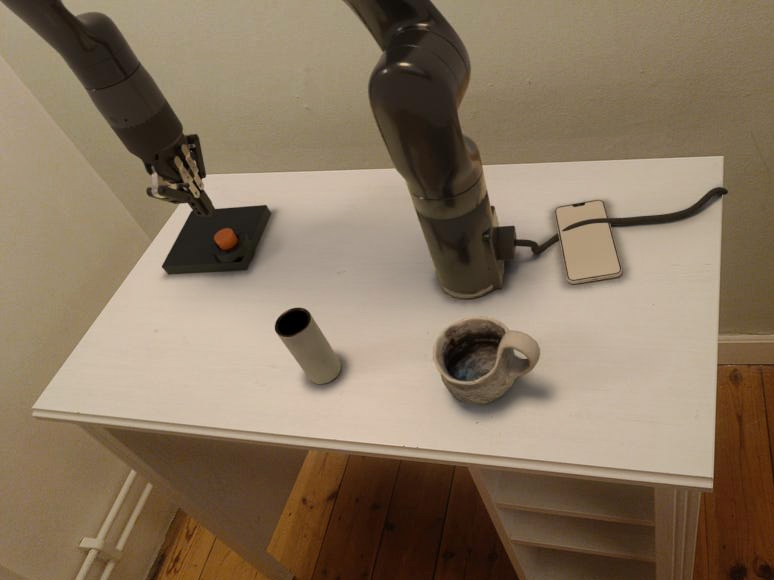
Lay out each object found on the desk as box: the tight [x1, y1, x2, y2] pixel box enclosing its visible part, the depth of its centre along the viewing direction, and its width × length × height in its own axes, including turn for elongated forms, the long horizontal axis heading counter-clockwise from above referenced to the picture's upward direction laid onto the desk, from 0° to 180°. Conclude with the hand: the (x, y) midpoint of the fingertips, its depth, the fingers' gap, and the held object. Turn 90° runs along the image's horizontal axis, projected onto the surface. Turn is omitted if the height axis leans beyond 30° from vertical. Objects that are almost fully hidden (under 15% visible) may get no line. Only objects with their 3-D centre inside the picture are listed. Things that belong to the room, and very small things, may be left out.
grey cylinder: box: [274, 307, 342, 385], centre depth 77 cm, size 4×4×10 cm
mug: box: [432, 315, 541, 406], centre depth 71 cm, size 10×12×10 cm
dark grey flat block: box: [161, 204, 272, 275], centre depth 99 cm, size 14×13×4 cm
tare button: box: [214, 228, 238, 250], centre depth 94 cm, size 3×3×2 cm
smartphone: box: [553, 199, 623, 285], centre depth 85 cm, size 7×1×15 cm
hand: (207, 213), depth 90 cm, fingers closed
